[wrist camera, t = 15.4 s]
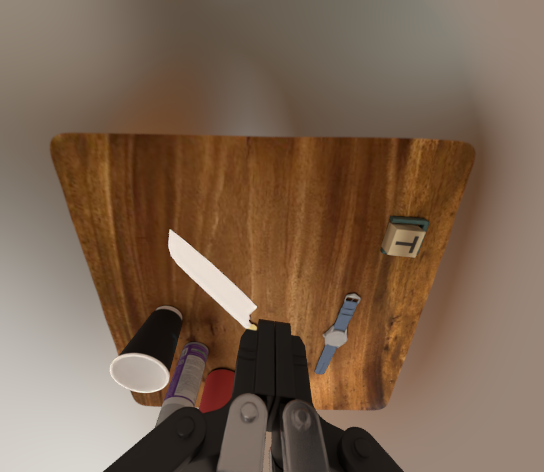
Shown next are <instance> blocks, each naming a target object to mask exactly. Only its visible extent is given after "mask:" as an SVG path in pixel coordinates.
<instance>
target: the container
mask: <svg viewBox="0 0 544 472" xmlns="http://www.w3.org/2000/svg"><path fill="white" fill-rule="evenodd" d="M207 357H208V348H207V347H206V346H205V345H204V344H202V343H199V342H190V343H188V344H186V345H185V346H184V348H183V351H182V354H181V356H180V359H179V362H178V364H177V367H176V370H175V373H174V375H173V378H172V381H171V383H170V386H169V389H168V391H167V394H166V397H165V399H164V402H163V405H162V408H161V411H160V414H159V417H158V420H157V423H156V426H158V425H159V424H160V423H161V422H162V421H164V420H165V419H166V418H167V417H168V416H170V415H171V414H172V413H173V412H174V411H176V410H178V409H180V408H182V407H194V406H195V402H196V399H197V395H198V391H199V387H200V383H201V380H202V376H203V372H204V368H205V364H206V360H207ZM156 426H155V427H156Z"/></svg>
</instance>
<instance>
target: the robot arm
mask: <svg viewBox="0 0 544 472" xmlns="http://www.w3.org/2000/svg"><path fill="white" fill-rule="evenodd" d="M266 431H268V432H272V444H271V447H270V451H269V466H270V472H404V471H403V470H402V469H401V468H400V467H399V466H398V465H397V464H396V463H395V461H394V460H393V459H392V458H391V457H390V456H389V455H388V453H387V452H385V450H384V449H383V448H382V447H381V446H380V445H379V443H378V442H377V441H376V440H375V439H374V438H373V437H372V436H371V435H370V434H369V433H368V432H367V431H365V430H364V429H362V428H359V427H350V428H348V429H347V430H346V431H344V430H342V429H340V428H338V427H336V426H333V425H332V424H330V423H328V422H326V421H325V420H324V419H322V418H321V417H320V416H319V414H318V413H317V412H316V410H315V408H314V406H313V403H312V397H311V389H310V381H309V374H308V367H307V359H306V350H305V345H304V343H303V342H302V340H301V338H300V336H293V335H291V326H290V323H284V322H277V321H275V322H274V321H270V320H263V319H259V321H258V325H257V329H256V330H251V329H246V331H245V332H244V334H243V335H242V337H241V340H240V345H239V351H238V356H237V362H236V369H235V376H234V383H233V389H232V396H231V398H230V400H229V401H228V403H226V404H225V405H224V406H223V407H221V408H219V409H217V410H214V411H209V412H205V413H202V412H201V411H200V410H199V409H197V408H195V407H182V408H180V409H178V410H176V411H174V412H173V413H172V414H171V415H170V416H168V417H167V418H166V419H165V420H164V421H162V422H161V423H160V424H159V425H158V426H156V427H155V428H154V429H153V430H152V431H151V432H149V433H148V434H147V435H146V436H145V437H143V438H142V439H141V440H140V441H139V442H138V443H137V444H135V445H134V446H133V447H132V448H130V449H129V450H128V451H127V452H126V453H125V454H123V455H122V456H121V457H120V458H119V459H118V460H116V461H115V462H114V463H113V464H112V465H110V466H109V467H108V468H107V469H106V470H104V471H103V472H262V471H263V460H264V449H265V439H266Z"/></svg>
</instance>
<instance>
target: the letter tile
mask: <svg viewBox="0 0 544 472" xmlns="http://www.w3.org/2000/svg"><path fill="white" fill-rule="evenodd" d="M425 233H426V232H425V231H423V230H422V229H421V228H420V227H419V226H418V225H416V224H407V223H392V222H389V224H388V227H387V230H386V233H385V236H384V239H383V242H382V245H381V246H382V248H383V249H384V250H385V252H386V253H387V254H388V255H395V256H405V257H416V254H417V252H418V250H419V247H420V245H421V242H422V240H423V238H424V235H425Z"/></svg>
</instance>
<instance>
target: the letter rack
mask: <svg viewBox="0 0 544 472" xmlns="http://www.w3.org/2000/svg"><path fill="white" fill-rule="evenodd" d="M389 220H390V221H391V222H392V223H407V224H420V228H421V229H422V230H423V231H425V232H426V231H427V228H428V226H429V223H430V222H429V221H427V220H426V219H424V218H413V217H398V216H390V219H389ZM425 234H426V233H425ZM424 236H425V235H424ZM423 239H424V238H423ZM422 242H423V240H422ZM422 242H421V244H422ZM420 247H421V245H420ZM420 247H419V250H420ZM419 250H418V252H419ZM381 252H382V253H383V254H387V253H386V252H385V250H384V249H383V248H382V247H381ZM418 252H417V254H416V255H418Z"/></svg>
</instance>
